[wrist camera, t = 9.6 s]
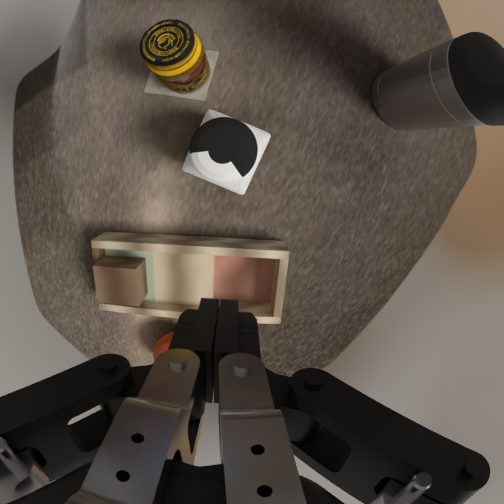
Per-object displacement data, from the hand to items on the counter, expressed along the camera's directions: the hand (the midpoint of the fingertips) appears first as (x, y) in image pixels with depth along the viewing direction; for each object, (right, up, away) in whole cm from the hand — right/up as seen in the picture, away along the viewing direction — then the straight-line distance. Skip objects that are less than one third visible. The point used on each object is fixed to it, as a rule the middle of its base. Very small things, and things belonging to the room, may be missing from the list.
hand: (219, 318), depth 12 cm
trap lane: (-7, 0, +28) cm, 29 cm away
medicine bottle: (-2, +15, +24) cm, 28 cm away
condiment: (-8, +26, +20) cm, 34 cm away
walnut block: (-16, 0, +25) cm, 30 cm away
